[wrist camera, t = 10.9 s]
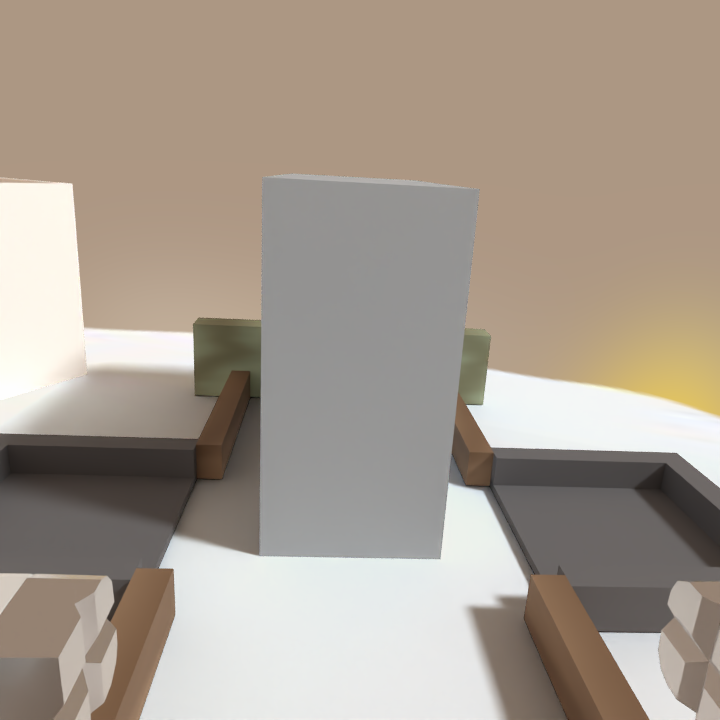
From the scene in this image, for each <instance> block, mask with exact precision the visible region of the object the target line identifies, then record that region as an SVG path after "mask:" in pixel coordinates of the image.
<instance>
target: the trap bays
mask: <svg viewBox="0 0 720 720" xmlns="http://www.w3.org/2000/svg"><path fill="white" fill-rule="evenodd" d="M197 441H198V439H172V438H137V437H102V436H68V435H33V434H0V573H16V574H33V575H34V574H63V575H97V576H108V577H109V578H110V580H111V581H112V586H113V594H114V603H113V606H112V608H111V610H110V612H109V614H108V616H107V619H108V620H109V621H110V622H111V620H112V618H113V616H114V613H115V611H116V609H117V607H118V605H119V603H120V601H121V599H122V597H123V595H124V593H125V591H126V589H127V586H128V584H129V582H130V580H131V578H132V576H133V574H134V572H135V570H136V568H155V569H158V568H159V566H160V564H161V561H162V559H163V557H164V554H165V552H166V550H167V547H168V545H169V543H170V540H171V538H172V536H173V533H174V531H175V529H176V526H177V524H178V522H179V519H180V517H181V515H182V512H183V510H184V507H185V505H186V503H187V500H188V498H189V496H190V493H191V491H192V489H193V486H194V484H195V482H196V479H197V465H196V443H197ZM491 449H492V451H493V452H494V456H493V463H492V471H491V479H490V487H491V489H492V491H493V493H494V495H495V497H496V499H497V501H498V503H499V505H500V507H501V509H502V511H503V513H504V515H505V517H506V519H507V521H508V523H509V525H510V527H511V529H512V531H513V533H514V535H515V537H516V539H517V540H518V542H519V544H520V546H521V548H522V550H523V552H524V554H525V556H526V558H527V560H528V562H529V564H530V566H531V568H532V570H533V572H534V574H535V575H565V576H566V577H567V579H568V581H569V583H570V584H571V586H572V588H573V589H574V591H575V593H576V595H577V596H578V598H579V600H580V602H581V603H582V605H583V607H584V608H585V610H586V612H587V614H588V615H589V617H590V619H591V620H592V622H593V624H594V626H595V627H596V629H597V631H613V632H661V630H662V629H663V628H664V627H665V626H666V625H667V624H668V623H669V622H670V621H671V620H672V619H673V618H674V615H673V613H672V612H671V610H670V608H669V606H668V605H667V604H668V600H669V596H670V592H671V589H672V588H673V586H674V585H675V584H676V582H677V581H720V488H719V487H718V486H717V485H715V484H714V483H713V482H712V481H710V480H709V479H708V478H707V477H705V476H704V475H703V474H702V473H701V472H699V471H698V470H697V469H696V468H694V467H693V466H692V465H691V464H690V463H688V462H687V461H686V460H685V459H683V458H682V457H681V456H680V455H678V454H677V453H662V452H627V451H592V450H557V449H522V448H491Z"/></svg>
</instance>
